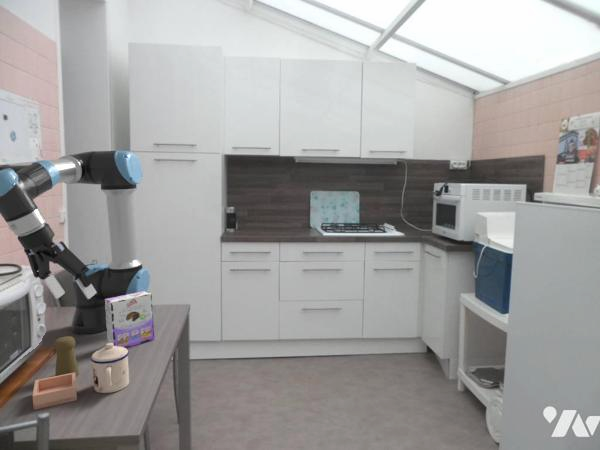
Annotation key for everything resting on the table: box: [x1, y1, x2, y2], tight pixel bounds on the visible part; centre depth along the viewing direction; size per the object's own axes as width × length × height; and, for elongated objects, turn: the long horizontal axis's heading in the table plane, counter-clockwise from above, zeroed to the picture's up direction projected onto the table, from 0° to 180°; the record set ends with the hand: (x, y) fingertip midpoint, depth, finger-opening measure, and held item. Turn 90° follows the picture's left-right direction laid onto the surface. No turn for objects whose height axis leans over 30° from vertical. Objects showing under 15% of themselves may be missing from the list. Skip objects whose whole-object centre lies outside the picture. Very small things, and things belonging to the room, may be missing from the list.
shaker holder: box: [32, 372, 78, 411], centre depth 109 cm, size 9×9×4 cm
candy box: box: [105, 291, 155, 349], centre depth 142 cm, size 14×6×16 cm, turn 134°
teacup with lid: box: [90, 343, 130, 394], centre depth 112 cm, size 12×9×12 cm
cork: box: [53, 335, 80, 377], centre depth 120 cm, size 6×6×11 cm
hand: (76, 295), depth 116 cm, fingers open, 13 cm apart
